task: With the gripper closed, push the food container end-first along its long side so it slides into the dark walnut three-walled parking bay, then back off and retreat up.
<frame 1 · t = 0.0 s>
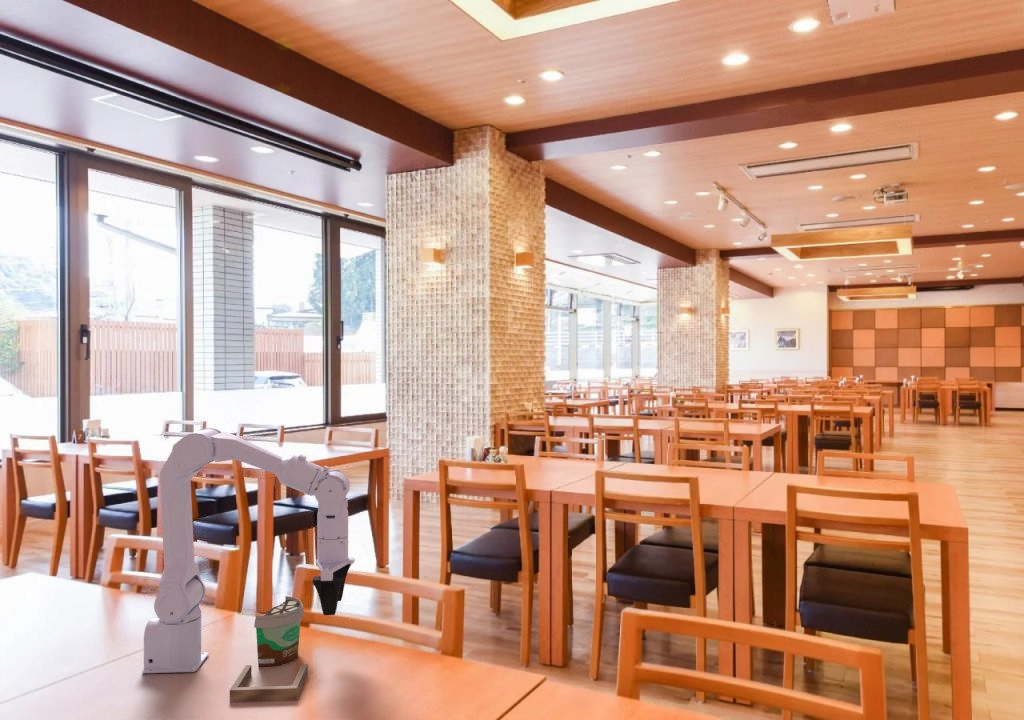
hand: (332, 607, 144), 10 cm above the table, fingers open, 7 cm apart
parking bay: (270, 687, 132), on the table
food container: (285, 659, 145), on the table
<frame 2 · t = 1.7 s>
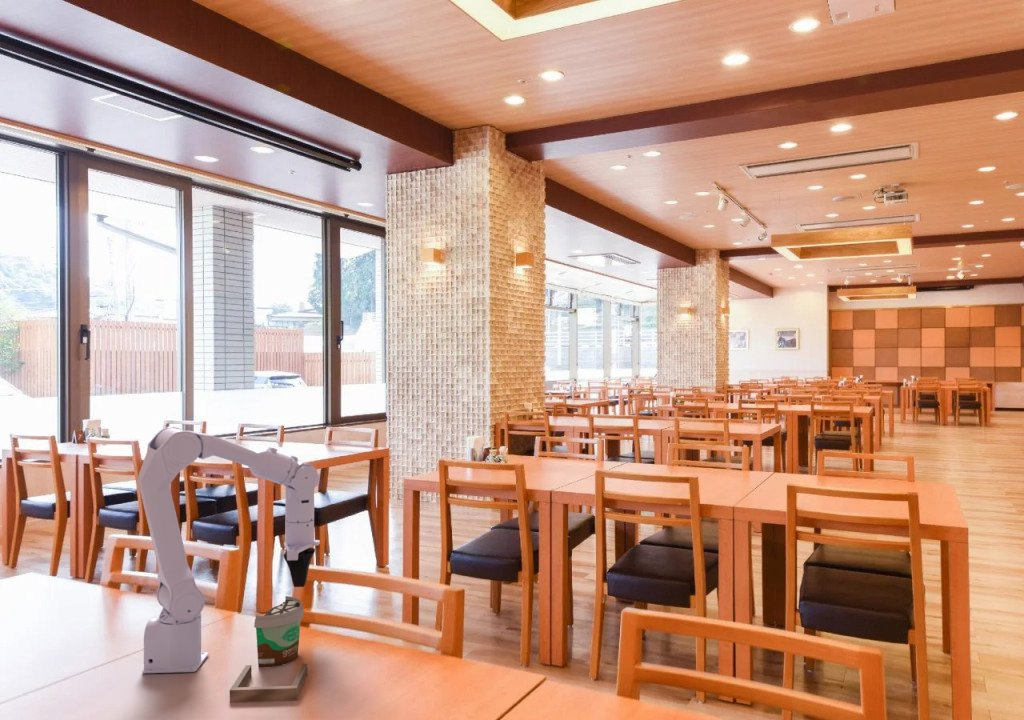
hand: (299, 585, 156), 10 cm above the table, fingers closed
nothing on the table moved.
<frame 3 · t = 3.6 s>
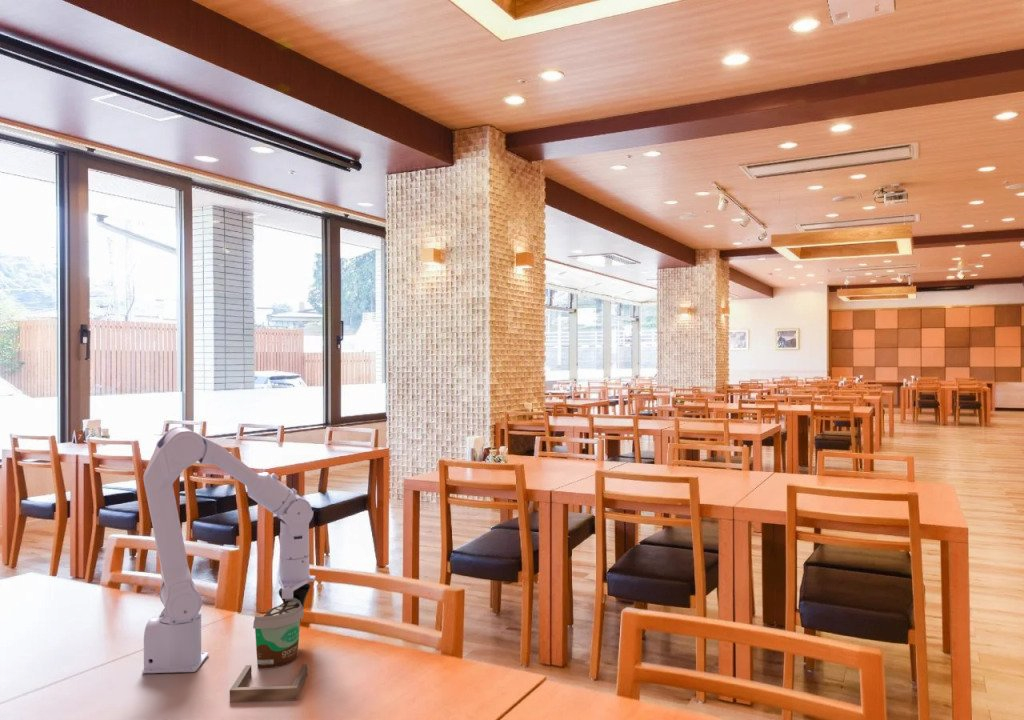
hand: (294, 622, 153), 4 cm above the table, fingers closed
food container: (285, 660, 144), on the table, touching gripper
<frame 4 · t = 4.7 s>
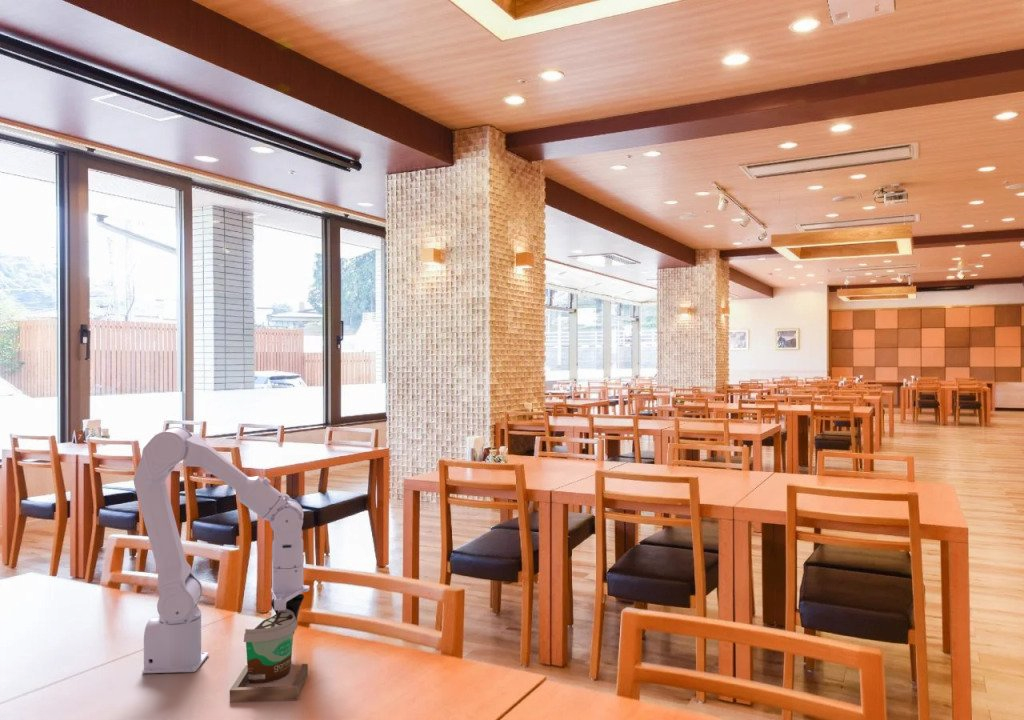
hand: (288, 635, 146), 4 cm above the table, fingers closed
food container: (277, 674, 138), on the table, touching gripper
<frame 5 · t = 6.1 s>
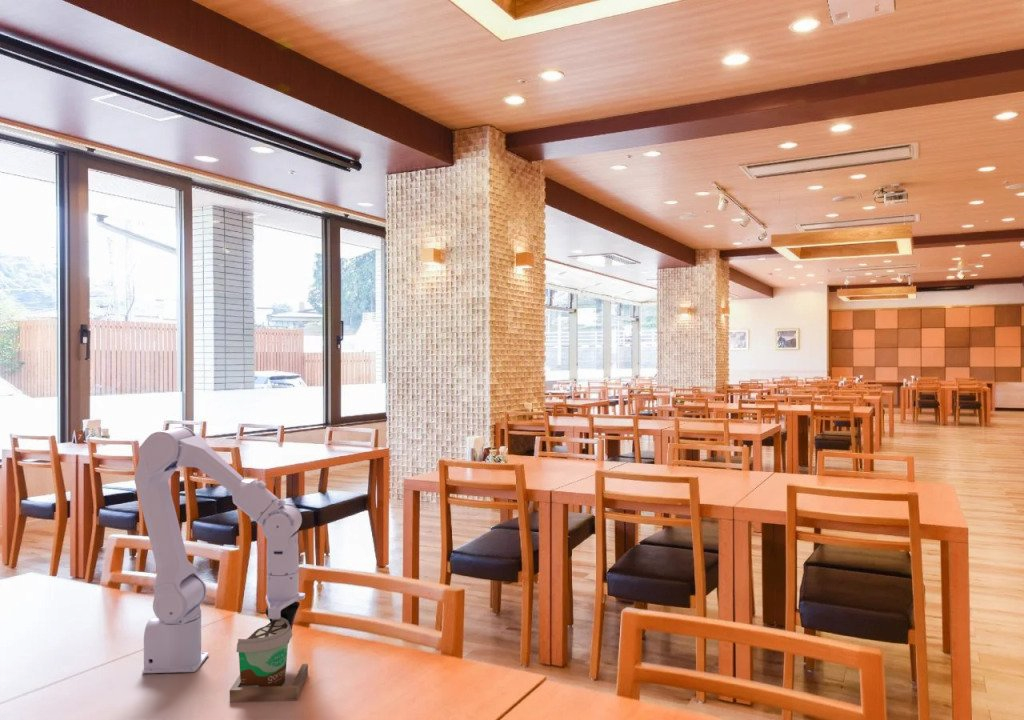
hand: (282, 643, 142), 4 cm above the table, fingers closed
food container: (272, 685, 134), on the table, touching gripper
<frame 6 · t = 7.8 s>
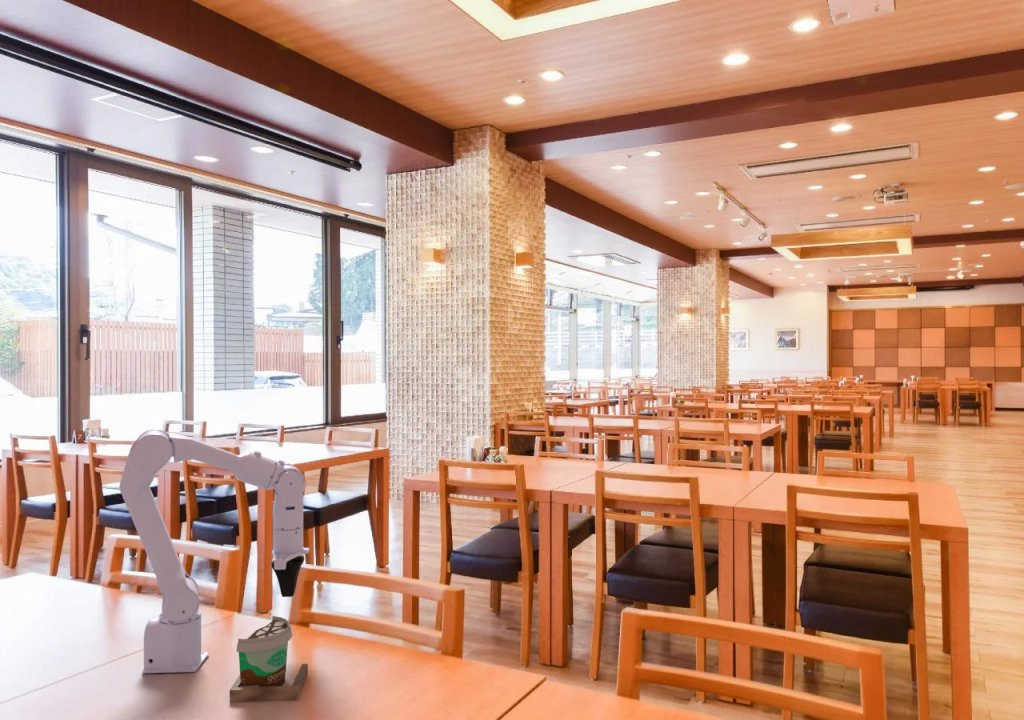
hand: (288, 595, 150), 10 cm above the table, fingers closed
food container: (271, 685, 134), on the table
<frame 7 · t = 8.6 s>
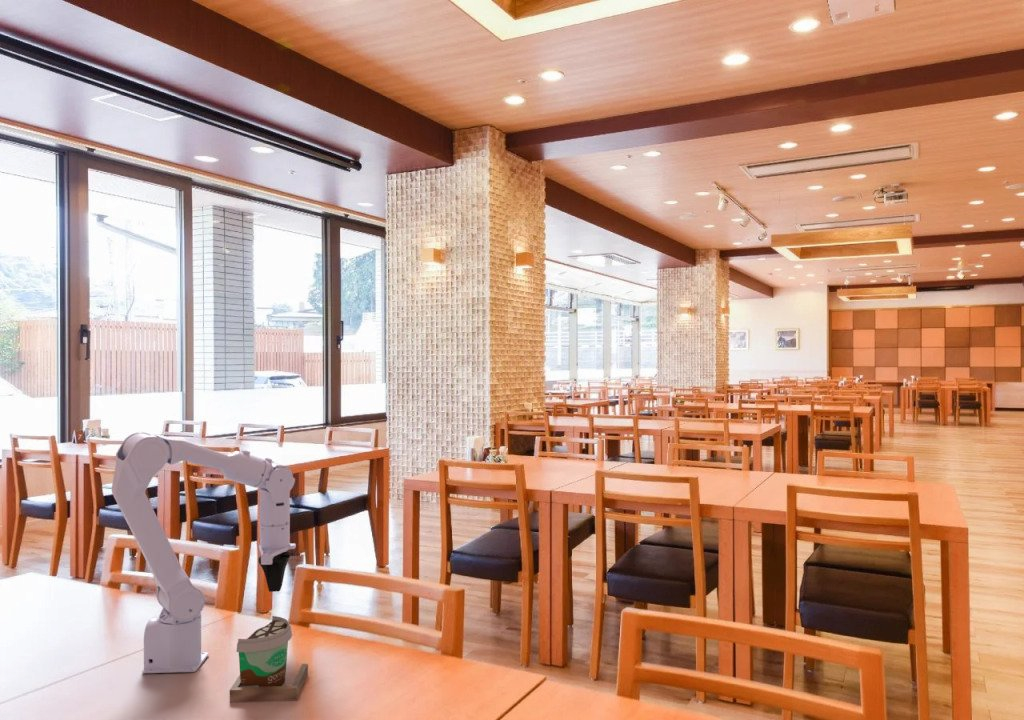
hand: (274, 590, 153), 10 cm above the table, fingers closed
nothing on the table moved.
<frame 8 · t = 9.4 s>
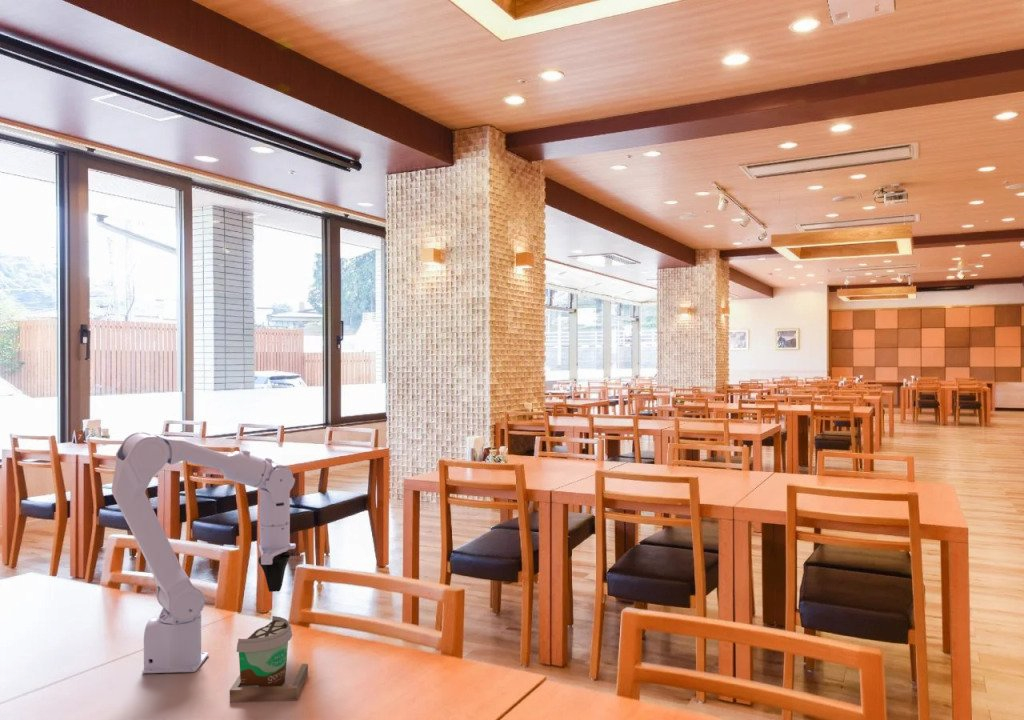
hand: (274, 590, 153), 10 cm above the table, fingers closed
nothing on the table moved.
at the end: food container 0.7 cm from the target spot on the parking bay, point 0.0 cm above the parking bay's base; food container tilted 0°; food container moved 11.2 cm from its start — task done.
